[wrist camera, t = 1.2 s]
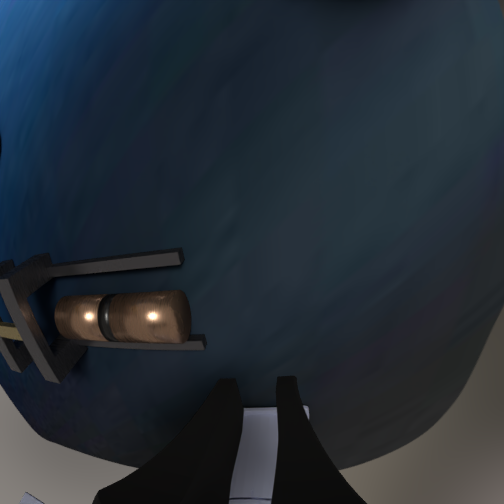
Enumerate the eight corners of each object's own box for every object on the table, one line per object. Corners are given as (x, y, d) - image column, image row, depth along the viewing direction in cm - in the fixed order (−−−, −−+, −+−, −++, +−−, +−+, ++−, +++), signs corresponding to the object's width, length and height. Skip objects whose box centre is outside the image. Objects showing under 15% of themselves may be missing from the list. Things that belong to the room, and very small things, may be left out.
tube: (180, 279, 18) (164, 314, 16) (194, 318, 20) (183, 354, 17) (70, 287, 20) (48, 314, 17) (87, 319, 22) (69, 347, 19)
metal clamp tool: (210, 353, 21) (193, 402, 16) (37, 342, 24) (11, 369, 19) (178, 232, 18) (144, 264, 13) (2, 261, 20) (-32, 282, 16)
